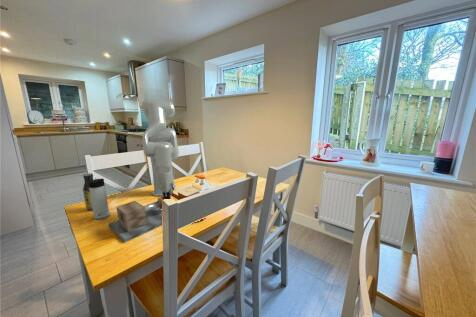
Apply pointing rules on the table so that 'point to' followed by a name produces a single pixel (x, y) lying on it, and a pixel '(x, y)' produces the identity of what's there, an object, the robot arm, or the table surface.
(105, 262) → the table surface
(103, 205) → the travel mug
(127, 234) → the housing
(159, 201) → the shaft
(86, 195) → the sauce bottle
